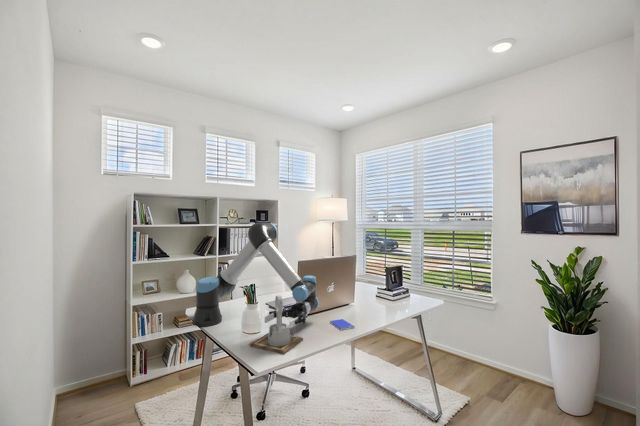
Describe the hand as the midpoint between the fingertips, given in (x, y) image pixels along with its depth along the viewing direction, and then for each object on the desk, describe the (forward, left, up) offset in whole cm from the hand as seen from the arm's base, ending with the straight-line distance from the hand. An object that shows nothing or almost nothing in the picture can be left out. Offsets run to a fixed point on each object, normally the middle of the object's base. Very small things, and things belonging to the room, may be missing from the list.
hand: (277, 322), depth 140 cm
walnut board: (0, 0, -10) cm, 10 cm away
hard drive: (+18, +35, -10) cm, 41 cm away
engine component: (+1, 0, -9) cm, 9 cm away
